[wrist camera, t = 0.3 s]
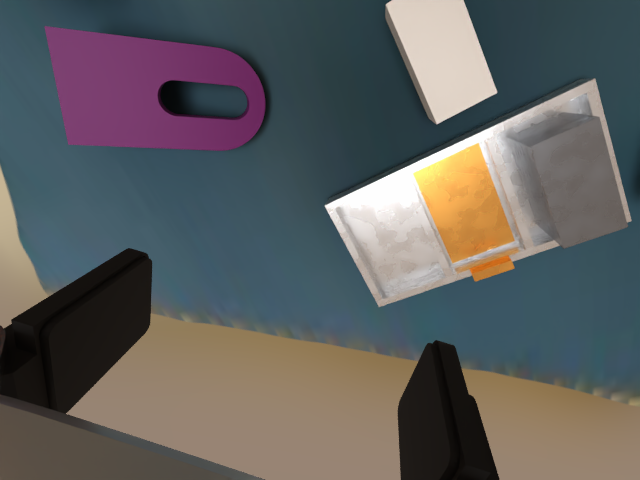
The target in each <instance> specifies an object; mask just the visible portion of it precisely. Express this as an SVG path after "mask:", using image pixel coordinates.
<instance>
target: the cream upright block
mask: <svg viewBox="0 0 640 480" xmlns="http://www.w3.org/2000/svg"><path fill="white" fill-rule="evenodd" d="M385 19H386V21H387V24H388V26H389V28H390V30H391V33H392V35H393V37H394V40H395V42H396V44H397V47H398V49H399V51H400V54H401V56H402V58H403V60H404V63H405V65H406V67H407V70H408V72H409V74H410V77H411V79H412V81H413V84H414V86H415V88H416V90H417V93H418V95H419V97H420V100H421V102H422V104H423V107H424V109H425V111H426V114H427V116H428V118H429V119H430V120H431V121H433V122H434V123H436V124H438V123H440V122H442V121H444V120H446V119H448V118H450V117H452V116H454V115H456V114H458V113H459V112H461V111H463V110H465V109H467V108H469V107H471V106H473V105H475V104H477V103H479V102H481V101H483V100H484V99H486V98H488V97H490V96H492V95H494V94H496V93H497V90H496V88H495V85H494V82H493V79H492V77H491V74H490V71H489V69H488V66H487V63H486V60H485V58H484V55H483V52H482V49H481V47H480V44H479V41H478V38H477V36H476V33H475V30H474V28H473V25H472V22H471V19H470V17H469V14H468V11H467V8H466V6H465V3H464V0H392V1H390V2H389V3H387V4H386V8H385Z"/></svg>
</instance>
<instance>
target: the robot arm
mask: <svg viewBox="0 0 640 480" xmlns="http://www.w3.org/2000/svg"><path fill="white" fill-rule="evenodd" d="M151 284H152V260H151V259H149V257H148V254H146V253H144V252H141V251H137V250H134V249H130V248H128V249H126V250H124V251H123V252H121V253H119V254H118V255H116V256H114V257H113V258H111V259H110V260H108V261H106V262H105V263H103V264H101V265H100V266H98V267H96V268H95V269H93V270H92V271H90V272H88V273H87V274H85V275H83V276H82V277H80V278H79V279H77V280H75V281H74V282H72V283H70V284H69V285H67V286H66V287H64V288H62V289H61V290H59V291H57V292H56V293H54V294H53V295H51V296H49V297H48V298H46V299H44V300H43V301H41V302H39V303H38V304H36V305H35V306H33V307H31V308H30V309H28V310H26V311H25V312H23V313H22V314H20V315H18V316H17V317H15V318H13V319H12V320H11V321H12V324H11V325H9V326H7V327H6V328H4V329H3V328H2V326H0V480H265V479H262V478H259V477H256V476H253V475H249V474H247V473H244V472H241V471H238V470H235V469H232V468H229V467H226V466H223V465H219V464H216V463H214V462H211V461H208V460H204V459H202V458H199V457H196V456H193V455H189V454H186V453H183V452H180V451H177V450H174V449H171V448H168V447H165V446H162V445H159V444H156V443H153V442H150V441H147V440H144V439H141V438H138V437H135V436H132V435H129V434H126V433H123V432H120V431H116V430H113V429H110V428H107V427H104V426H101V425H98V424H94V423H92V422H89V421H86V420H83V419H80V418H76V417H73V416H70V415H67V414H66V413H67V412H68V411H69V410H70V409H71V408H72V407H73V406H74V405H75V404H76V403H77V402H78V401H79V400H80V399H81V398H82V397H83V396H84V395H85V394H86V393H87V392H88V391H89V390H90V389H91V388H92V387H93V386H94V384H96V383H97V381H99V380H100V378H102V377H103V376H104V375H105V373H107V371H108V370H109V369H110V368H111V367H112V366H113V365H114V364H115V363H116V362H117V361H118V360H119V359H120V358H121V357H122V356H123V355H124V354H125V353H126V352H127V351H128V350H129V349H130V348H131V347H132V346H133V345H134V344H135V343H136V342H137V341H138V340H139V339H140V338H141V337H142V336H143V335H144V334H145V333H146V331H147V330H148V328H149V325H150V314H151ZM398 427H399V449H400V467H401V468H400V470H401V480H499V476H498V474H497V470H496V466H495V463H494V460H493V457H492V453H491V450H490V447H489V443H488V440H487V437H486V433H485V430H484V427H483V423H482V420H481V417H480V413H479V410H478V407H477V403H476V401H475V399H474V397H473V396H471V395H469V394H468V390H467V387H466V383H465V380H464V376H463V373H462V369H461V366H460V362H459V359H458V355H457V352H456V348H455V346H453V345H451V344H447V343H444V342H441V341H437V340H436V341H434V342H433V344H431V343H428V344H427V345H426V347H425V349H424V351H423V353H422V355H421V357H420V359H419V362H418V364H417V366H416V368H415V370H414V372H413V374H412V376H411V378H410V380H409V383H408V385H407V387H406V389H405V391H404V393H403V395H402V397H401V399H400V402H399V406H398Z"/></svg>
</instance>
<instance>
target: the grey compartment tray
mask: <svg viewBox="0 0 640 480" xmlns="http://www.w3.org/2000/svg"><path fill="white" fill-rule="evenodd" d="M325 207H326V209H327V211H328V213H329V215H330V217H331V218H332V220H333V222H334V224H335V226H336V228H337V230H338V231H339V233H340V235H341V237H342V239H343V241H344V243H345V244H346V246H347V248H348V250H349V252H350V254H351V256H352V257H353V259H354V261H355V263H356V265H357V267H358V269H359V270H360V272H361V274H362V276H363V278H364V280H365V282H366V283H367V285H368V287H369V289H370V291H371V293H372V295H373V296H374V298H375V300H376V302H377V304H378V306H379V307H381V306H383V305H386V304H389V303H392V302H395V301H398V300H401V299H404V298H407V297H410V296H413V295H416V294H419V293H422V292H425V291H427V290H430V289H433V288H436V287H439V286H442V285H445V284H448V283H451V282H454V281H457V280H460V279H463V278H466V277H469V276H473V278H474V280H475V281H478V280H481V279H484V278H487V277H490V276H493V275H496V274H499V273H502V272H505V271H508V270H511V269H514V265H513V263H512V262H513V261H516V260H518V259H521V258H524V257H527V256H530V255H533V254H536V253H539V252H542V251H545V250H548V249H551V248H554V247H557V246H561V247H562V248H563V249H564V248H567V247H570V246H573V245H576V244H579V243H582V242H585V241H588V240H591V239H594V238H597V237H600V236H603V235H606V234H609V233H612V232H615V231H618V230H621V229H624V228H627V227H628V225H627V222H630V221H631V217H630V213H629V209H628V205H627V201H626V197H625V193H624V190H623V186H622V182H621V178H620V174H619V170H618V166H617V162H616V158H615V154H614V150H613V147H612V143H611V139H610V135H609V131H608V127H607V123H606V119H605V115H604V111H603V107H602V103H601V100H600V96H599V92H598V88H597V84H596V80H595V78H593V79H579V80H577V81H575V82H573V83H571V84H569V85H566V86H564V87H562V88H560V89H558V90H556V91H554V92H552V93H550V94H548V95H545V96H543V97H541V98H539V99H537V100H535V101H533V102H531V103H529V104H527V105H524V106H522V107H520V108H518V109H516V110H514V111H512V112H510V113H508V114H506V115H503V116H501V117H499V118H497V119H495V120H493V121H491V122H489V123H487V124H485V125H482V126H480V127H478V128H476V129H474V130H472V131H470V132H468V133H466V134H464V135H461V136H459V137H457V138H455V139H453V140H451V141H449V142H447V143H445V144H442V145H440V146H438V147H436V148H434V149H432V150H430V151H428V152H426V153H424V154H421V155H419V156H417V157H415V158H413V159H411V160H409V161H407V162H405V163H403V164H400V165H398V166H396V167H394V168H392V169H390V170H388V171H386V172H384V173H382V174H379V175H377V176H375V177H373V178H371V179H369V180H367V181H365V182H363V183H361V184H358V185H356V186H354V187H352V188H350V189H348V190H346V191H344V192H342V193H340V194H337V195H335V196H333V197H331V198H329V199H328V200H327V202H326V204H325Z"/></svg>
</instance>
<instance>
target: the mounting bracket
mask: <svg viewBox="0 0 640 480" xmlns="http://www.w3.org/2000/svg"><path fill="white" fill-rule="evenodd" d="M45 31H46V36H47V41H48V46H49V51H50V56H51V61H52V66H53V70H54V75H55V80H56V85H57V90H58V95H59V100H60V105H61V110H62V115H63V120H64V125H65V130H66V135H67V140H68V144H70V145H95V146H119V147H144V148H168V149H193V150H217V151H222V150H230V149H234V148H237V147H239V146H241V145H243V144H245V143H246V142H248V141H249V140H250V139H251V138H252V137H253V136H254V135H255V134H256V132H257V131H258V129H259V128H260V126H261V124H262V121H263V118H264V114H265V95H264V91H263V87H262V84H261V82H260V80H259V78H258V76H257V74H256V73H255V71H254V70H253V69H252V67H251V66H250V65H249V64H248V63H247V62H246V61H245V60H243V59H242V58H241V57H239V56H238V55H236V54H234V53H233V52H230V51H228V50H225V49H222V48H216V47H208V46H200V45H192V44H184V43H176V42H168V41H160V40H152V39H144V38H136V37H128V36H119V35H111V34H103V33H95V32H87V31H79V30H71V29H63V28H55V27H47V26H45ZM170 80H178V81H188V82H199V83H210V84H220V85H231V86H237V87H239V88H240V89H242V90H243V92H244V93H245V95H246V97H247V108H246V110H245V112H244V113H243V114H242V115H241V116H239V117H235V118H230V117H215V116H200V115H186V114H176V113H173V112H171V111H169V110H168V109H167V108H166V107H165V106H164V105H163V103H162V101H161V97H160V92H161V88H162V86H163V85H164V84H165V83H166V82H167V81H170Z"/></svg>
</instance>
